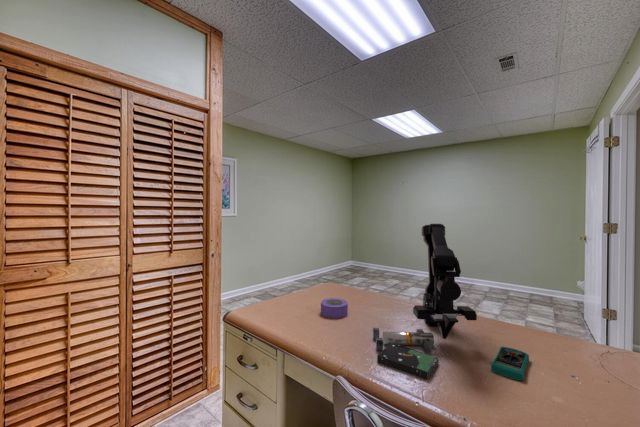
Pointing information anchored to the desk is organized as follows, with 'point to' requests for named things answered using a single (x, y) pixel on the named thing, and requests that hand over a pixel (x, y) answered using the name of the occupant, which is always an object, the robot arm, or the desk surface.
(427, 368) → the disk drive
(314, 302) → the desk surface
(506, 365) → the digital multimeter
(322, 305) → the tape roll
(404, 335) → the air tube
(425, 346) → the collar stand
